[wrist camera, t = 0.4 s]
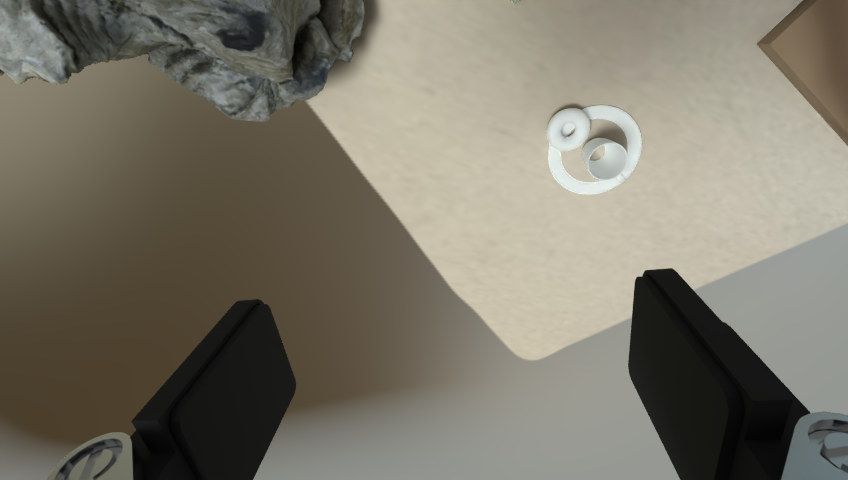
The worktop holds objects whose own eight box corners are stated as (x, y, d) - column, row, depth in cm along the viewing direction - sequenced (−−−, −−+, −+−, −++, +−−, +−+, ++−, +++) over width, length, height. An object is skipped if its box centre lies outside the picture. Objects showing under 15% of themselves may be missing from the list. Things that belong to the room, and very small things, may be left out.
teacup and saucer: (531, 119, 37) (539, 128, 33) (624, 78, 35) (643, 83, 31) (562, 205, 40) (572, 222, 36) (649, 172, 38) (668, 186, 34)
